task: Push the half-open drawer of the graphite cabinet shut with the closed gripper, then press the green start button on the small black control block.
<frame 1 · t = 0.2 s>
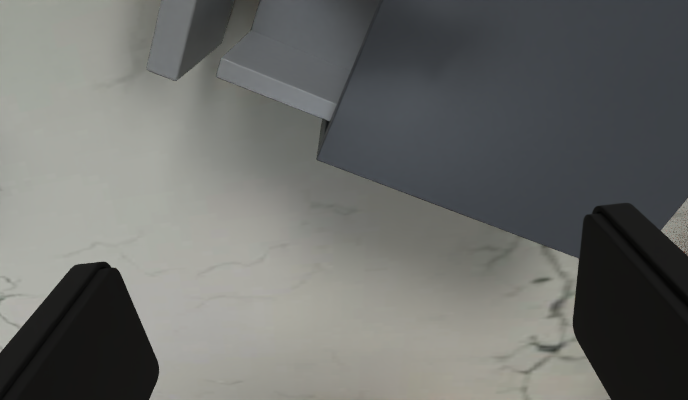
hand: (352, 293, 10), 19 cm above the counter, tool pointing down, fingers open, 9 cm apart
cabinet: (495, 36, 26), on the counter
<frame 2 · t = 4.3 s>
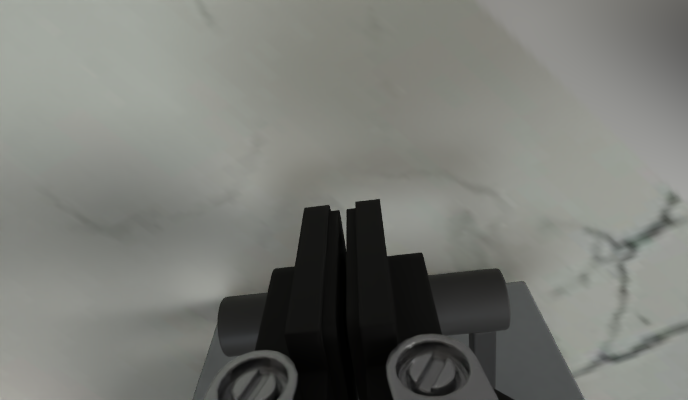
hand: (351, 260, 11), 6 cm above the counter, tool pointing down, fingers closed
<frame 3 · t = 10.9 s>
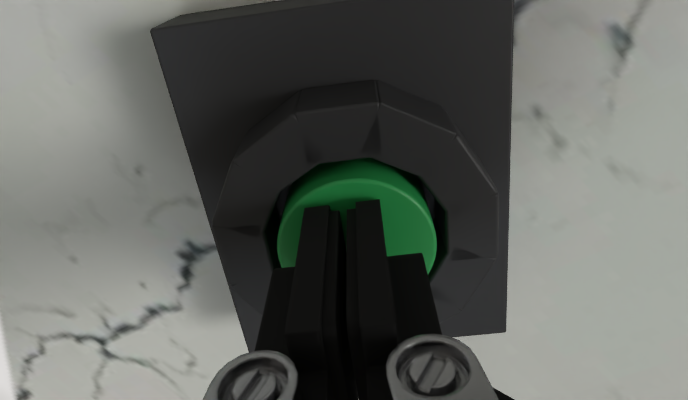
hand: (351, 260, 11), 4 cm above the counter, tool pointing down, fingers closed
start button: (356, 231, 12), point 3 cm above the counter, slide at -0.9 cm, touching gripper
control block: (354, 170, 15), on the counter
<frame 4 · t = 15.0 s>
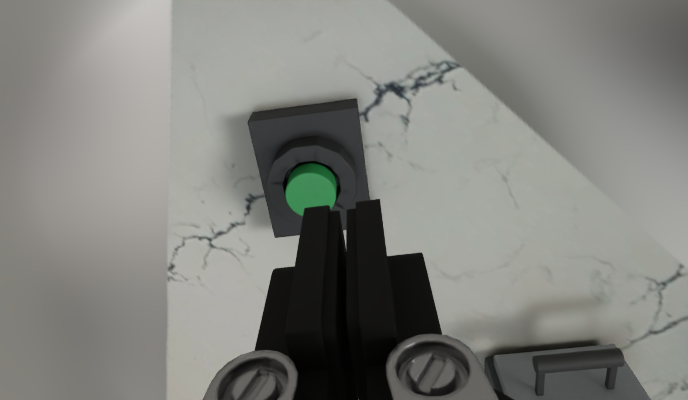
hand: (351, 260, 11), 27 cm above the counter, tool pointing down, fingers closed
start button: (311, 190, 36), point 4 cm above the counter, slide at 0.1 cm
control block: (314, 165, 40), on the counter
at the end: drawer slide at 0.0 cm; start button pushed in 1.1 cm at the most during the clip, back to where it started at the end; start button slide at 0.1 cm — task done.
